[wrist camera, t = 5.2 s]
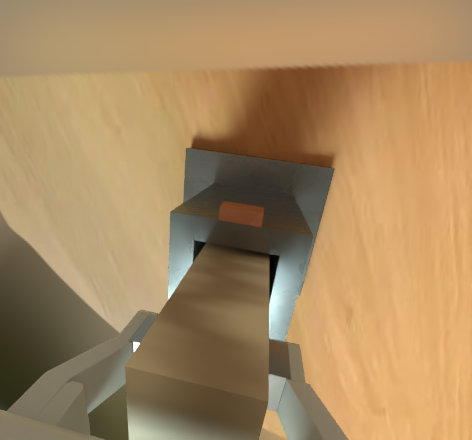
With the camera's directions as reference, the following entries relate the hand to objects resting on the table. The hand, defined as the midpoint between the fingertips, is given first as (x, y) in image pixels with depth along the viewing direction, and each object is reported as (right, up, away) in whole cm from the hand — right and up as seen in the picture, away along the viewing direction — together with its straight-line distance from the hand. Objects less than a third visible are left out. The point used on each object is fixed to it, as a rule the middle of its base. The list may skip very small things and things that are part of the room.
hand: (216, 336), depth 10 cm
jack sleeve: (+2, +5, +14) cm, 15 cm away
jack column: (+2, +4, +12) cm, 13 cm away
